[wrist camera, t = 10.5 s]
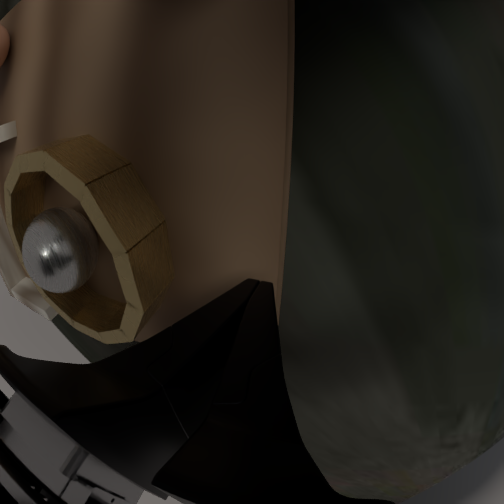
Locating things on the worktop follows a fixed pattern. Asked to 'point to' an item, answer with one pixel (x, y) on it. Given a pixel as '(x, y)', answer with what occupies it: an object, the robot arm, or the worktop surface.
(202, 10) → the board
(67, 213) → the steel ball
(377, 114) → the worktop surface
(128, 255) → the race ring
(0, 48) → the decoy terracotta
